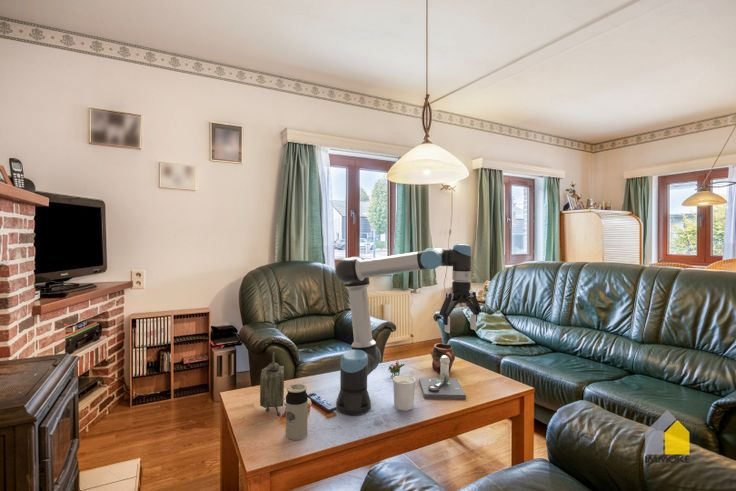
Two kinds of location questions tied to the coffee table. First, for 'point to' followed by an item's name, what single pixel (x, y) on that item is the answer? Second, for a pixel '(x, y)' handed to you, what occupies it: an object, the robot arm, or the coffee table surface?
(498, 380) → the coffee table surface
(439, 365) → the decorative planter
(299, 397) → the travel mug
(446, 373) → the shiny silver rounded post
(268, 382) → the grey upright ornament
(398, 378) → the candle holder
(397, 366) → the figurine
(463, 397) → the dial board
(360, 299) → the robot arm
